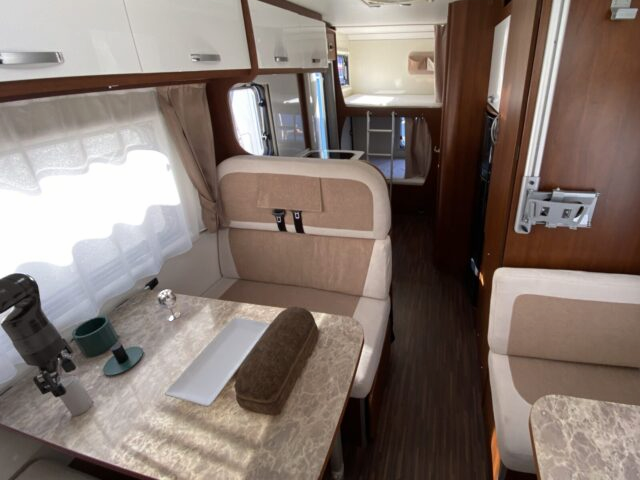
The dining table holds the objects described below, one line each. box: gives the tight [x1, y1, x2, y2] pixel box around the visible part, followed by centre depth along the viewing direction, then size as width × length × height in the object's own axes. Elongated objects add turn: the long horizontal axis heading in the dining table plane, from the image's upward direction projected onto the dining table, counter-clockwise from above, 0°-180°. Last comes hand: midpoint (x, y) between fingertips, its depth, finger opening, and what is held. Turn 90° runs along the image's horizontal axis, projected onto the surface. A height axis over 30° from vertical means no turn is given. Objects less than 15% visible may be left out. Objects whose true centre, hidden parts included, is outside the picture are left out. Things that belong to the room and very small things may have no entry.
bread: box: [233, 306, 319, 416], centre depth 98 cm, size 15×32×16 cm, turn 168°
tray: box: [164, 316, 271, 408], centre depth 103 cm, size 17×31×4 cm, turn 166°
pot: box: [70, 315, 119, 358], centre depth 110 cm, size 10×10×10 cm
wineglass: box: [157, 288, 181, 321], centre depth 122 cm, size 6×6×12 cm
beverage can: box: [59, 373, 94, 416], centre depth 89 cm, size 5×5×12 cm
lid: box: [102, 342, 144, 377], centre depth 104 cm, size 11×11×8 cm
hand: (66, 382), depth 87 cm, fingers open, 8 cm apart
